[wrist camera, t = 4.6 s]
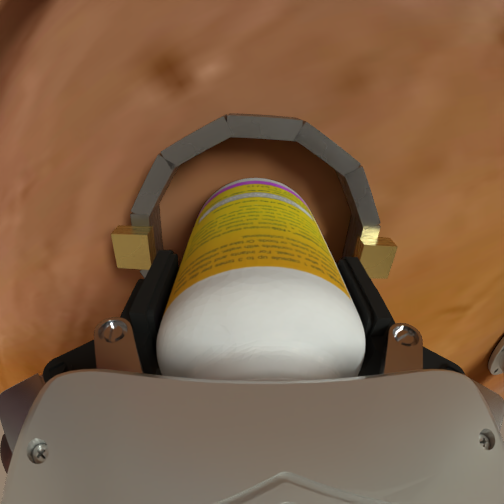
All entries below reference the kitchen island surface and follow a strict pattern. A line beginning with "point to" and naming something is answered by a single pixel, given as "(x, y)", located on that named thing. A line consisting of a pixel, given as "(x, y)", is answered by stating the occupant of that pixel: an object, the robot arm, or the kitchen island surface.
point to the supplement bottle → (259, 294)
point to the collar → (263, 127)
